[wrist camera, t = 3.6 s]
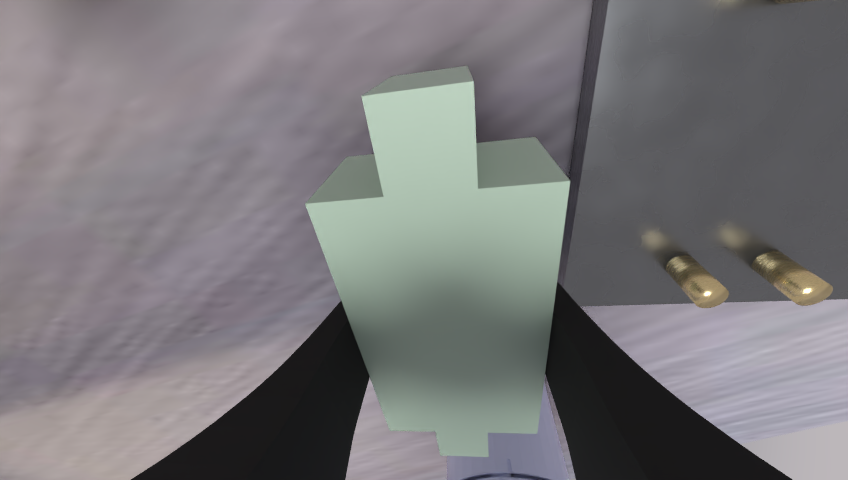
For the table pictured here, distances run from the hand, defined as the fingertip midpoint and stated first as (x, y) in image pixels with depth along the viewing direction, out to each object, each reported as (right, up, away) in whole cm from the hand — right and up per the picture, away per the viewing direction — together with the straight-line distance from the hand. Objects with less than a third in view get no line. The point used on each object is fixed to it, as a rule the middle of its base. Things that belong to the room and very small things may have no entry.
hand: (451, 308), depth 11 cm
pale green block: (0, +1, +1) cm, 2 cm away
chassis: (+14, +7, +4) cm, 17 cm away
